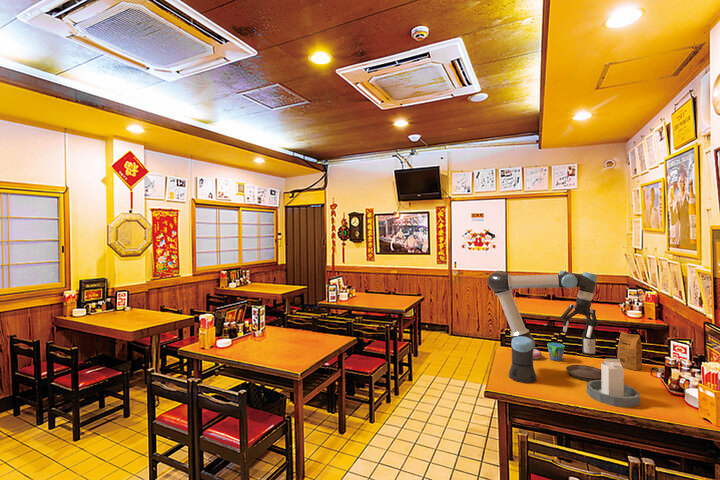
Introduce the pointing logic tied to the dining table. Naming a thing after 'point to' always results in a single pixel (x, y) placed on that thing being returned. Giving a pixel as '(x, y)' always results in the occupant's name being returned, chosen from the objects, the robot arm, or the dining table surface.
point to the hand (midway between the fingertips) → (576, 334)
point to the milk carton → (612, 377)
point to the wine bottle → (588, 341)
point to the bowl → (628, 400)
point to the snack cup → (556, 351)
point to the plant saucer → (584, 372)
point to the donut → (536, 354)
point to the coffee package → (630, 351)
